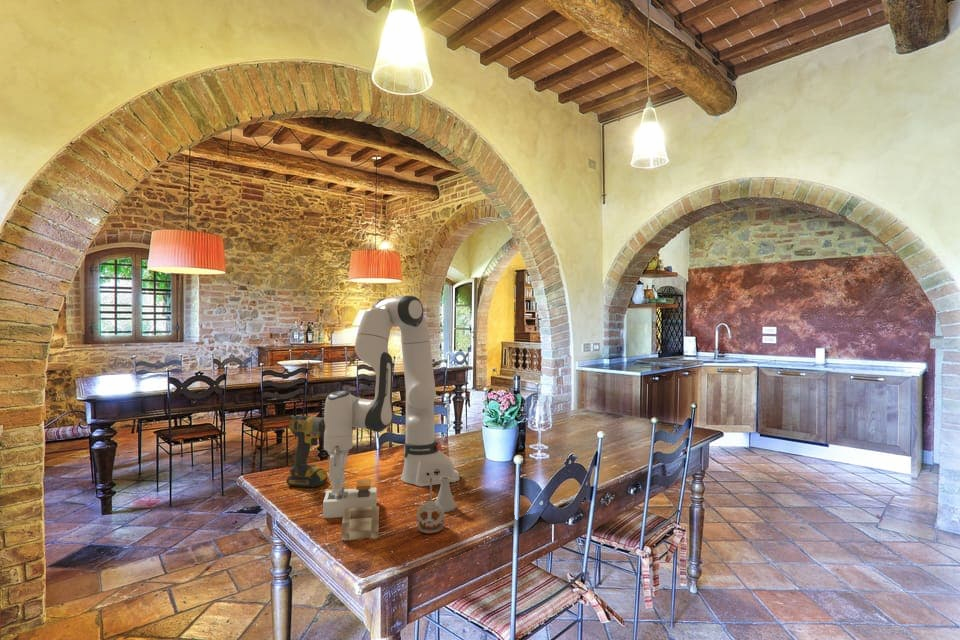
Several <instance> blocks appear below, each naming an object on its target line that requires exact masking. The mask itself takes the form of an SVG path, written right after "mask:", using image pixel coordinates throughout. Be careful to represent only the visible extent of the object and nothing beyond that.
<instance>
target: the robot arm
mask: <svg viewBox="0 0 960 640" xmlns="http://www.w3.org/2000/svg"><path fill="white" fill-rule="evenodd" d="M392 327H398V328H399V330H400V339H401V341H400V342H401V351H402V352H401V353H402V363H403V365H402V366H403V372H404V373H403V374H404V384H405V440H404V444H403V455H404V464H403V468H402V474H401V477H400V480H401V481H402V482H404V483H406V484H411V485H415V486H417V487H427V486H429V487H430V478H432V486H434V485H441V480H440V478H441V477H444V476H445V477H450V480H449V484H451V483H457V482H458V481H460V473H459V472H458V470H456V469H455V468H454V463H453V461H452V459H451V458H450V457H449V456H448V455H446V454H445V453H443V451H441V450H442V448H443V447H442V444H441V443H440V442H438V441H437V440H435V403H434V402H435V400H436V397H437V391H436V381H435V375H434V366H433V358H432V357H433V356H432V348H431V347H432V345H431V336H430V330H429V326H428V322H427V318H426V317H425V316H424V306H423V304H422V301H421V300H420V299H419V298H418V297H416V296H414V295H397V296H396V295H395V296H392V297H388V298H382V299H379V300H377V301H375V303H373V305H372V307H369V308H367V309H366V310H365V311H364V313H363V315H362V317H361V320H360V323H359V326H358V329H357V333H356V334H357V335H356V338H355V343H354V351H355V354H356V355H357V357H358V358H359V359H360V360H361V361H362V362H363V363H365V364H366V365H368V366H370V367H371V368H373V371H374V372H375V391H374V393H375V394H374V398H373V399H367V398H360V397H357V396H354V395H353V394H351V392H349V391H347V390H339V391H338V390H337V391H334V392H333V391H332V392H331V393H330V394H328V395H327V397H326V399H325V402H324V411H323V412H324V413H323V419H324V422H325V432H324V434H323V450H324V451H326V452H327V454H328V455H329V464H328V465H329V466H328V468H329V469H328V479H329V482H332V481H334V489H335V490H336V489H340V480H341V479H342V475H343V472H344V470H345V466H346V463H347V459H348V454H349V450H352V449H353V445H354V443H353V439H354V438H353V437H354V436H353V433H354V431H353V428H357V429H364V430H369V431H372V432H375V433H381V432H383V431H384V430H385V429H387V428H388V427H389V426H390V424H391V423H392V421H393V416H394V413H393V412H394V411H393V404H392V401H393V400H392V398H393V397H392V396H393V378H394V362H393V357H392V356H391V354H390V353H389V347H388V346H389V341H390V340H389V339H390V334H391V329H392ZM456 481H457V482H456ZM450 482H451V483H450Z"/></svg>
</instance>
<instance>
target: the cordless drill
mask: <svg viewBox="0 0 960 640" xmlns="http://www.w3.org/2000/svg"><path fill="white" fill-rule="evenodd" d="M288 430H289V431H290V432H291V433H292V435H294V436H296V437H297V445H296V449H295V454H294V462H293V465H292V466H291V467H290V469H289V474H290V475H289V476H287V479H286V485H288V486H290V487H291V486H293V487H303V488H304V487H305V488H317V487H322V486H323V485H325V484H326V483H327V482H328V474H327V472H326V471H325V469H323V468H322V467H320V466H319V465H318V466H317V465H315V464H308V463H307V462H308V461H307V459H308V456H309V454H310V450H311V446H317V445H318V439H320V438H322V437H324V432H325V422H324V417H323V418H322V417H318V416H310V415H299V414H298V415H294V416H292V417H291V418H290V420H289V421H288Z"/></svg>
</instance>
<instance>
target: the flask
mask: <svg viewBox="0 0 960 640" xmlns="http://www.w3.org/2000/svg"><path fill="white" fill-rule="evenodd" d="M440 480H441V484H440V488H439V491H438V494H437V497H436V500H435V503H439V505H441V507H442V509H443V511H444V513H449V512H452V511H453V512H454V511H455V509H456V508H457V504H456V502H455V500H454V497H453V494H452V491H451V486H450V483H449V480H450V477H445V476H444V477H441V478H440Z"/></svg>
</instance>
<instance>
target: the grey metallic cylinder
mask: <svg viewBox="0 0 960 640" xmlns="http://www.w3.org/2000/svg"><path fill="white" fill-rule="evenodd" d="M345 477H346V472H344V471H343V475H342V479H341V480H340V489H336V490H335V489H334V481H331V490H332V499H343V498H345V489H346V488H345V487H346V486H345V485H346V484H345V481H346V480H345Z"/></svg>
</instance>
